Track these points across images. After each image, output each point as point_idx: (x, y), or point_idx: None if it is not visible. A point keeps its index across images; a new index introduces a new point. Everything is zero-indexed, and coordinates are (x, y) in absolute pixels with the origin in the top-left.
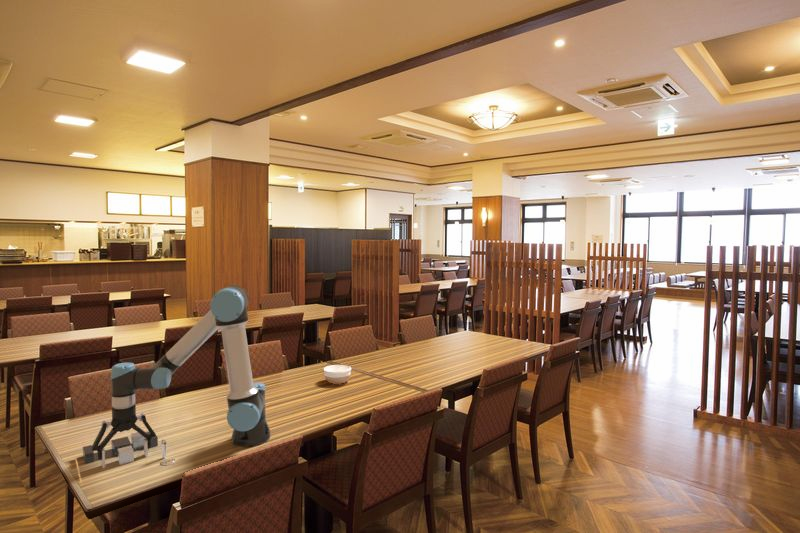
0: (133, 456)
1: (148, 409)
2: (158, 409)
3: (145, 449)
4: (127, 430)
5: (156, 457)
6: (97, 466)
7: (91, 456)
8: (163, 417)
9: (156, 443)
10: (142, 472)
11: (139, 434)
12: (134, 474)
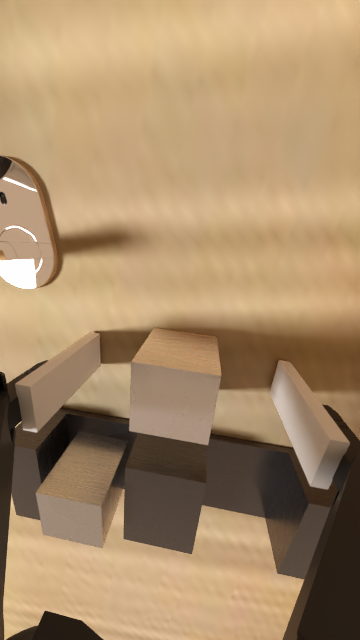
0: (145, 341)
1: None
2: (20, 618)
3: (72, 354)
4: (78, 621)
5: (56, 305)
6: None
7: None
8: (9, 577)
9: None
10: (145, 162)
11: (66, 514)
12: (188, 169)
